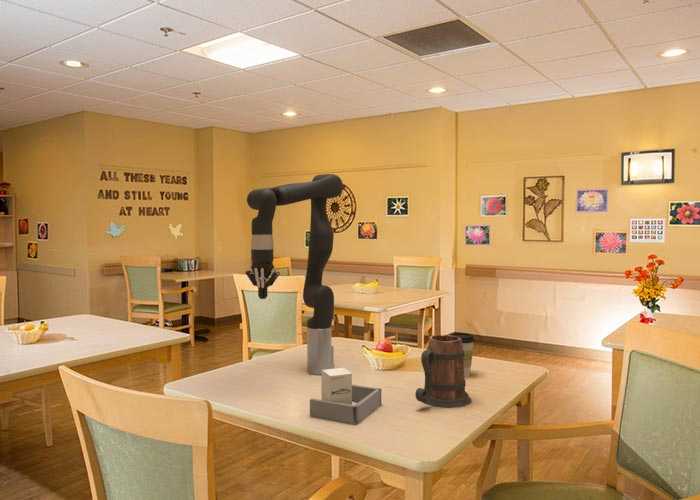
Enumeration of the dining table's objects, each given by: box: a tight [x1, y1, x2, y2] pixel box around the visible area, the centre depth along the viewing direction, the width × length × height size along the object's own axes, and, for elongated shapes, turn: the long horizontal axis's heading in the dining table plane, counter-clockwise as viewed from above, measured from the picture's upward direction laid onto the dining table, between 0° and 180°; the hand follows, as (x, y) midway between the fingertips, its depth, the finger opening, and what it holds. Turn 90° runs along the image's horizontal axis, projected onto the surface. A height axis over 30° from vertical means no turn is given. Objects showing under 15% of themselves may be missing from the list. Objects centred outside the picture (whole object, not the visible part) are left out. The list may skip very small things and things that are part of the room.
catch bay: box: [309, 384, 382, 426], centre depth 162 cm, size 15×18×5 cm
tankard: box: [415, 334, 472, 409], centre depth 170 cm, size 24×17×20 cm
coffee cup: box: [449, 332, 476, 378], centre depth 199 cm, size 10×10×15 cm
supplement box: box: [321, 367, 353, 405], centre depth 160 cm, size 7×7×13 cm
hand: (262, 298), depth 183 cm, fingers closed
